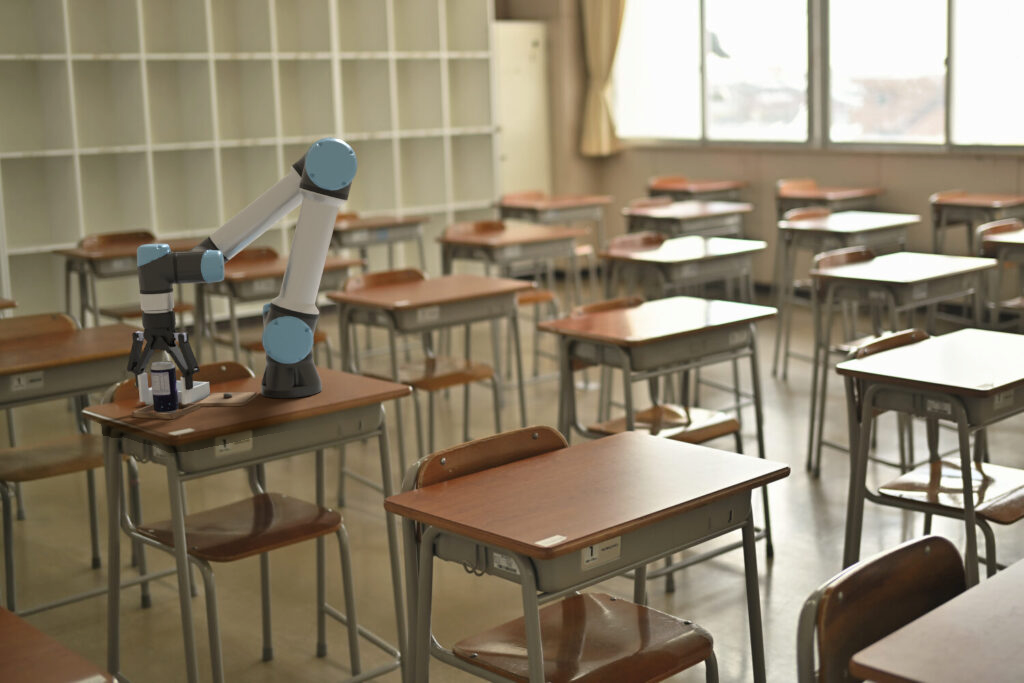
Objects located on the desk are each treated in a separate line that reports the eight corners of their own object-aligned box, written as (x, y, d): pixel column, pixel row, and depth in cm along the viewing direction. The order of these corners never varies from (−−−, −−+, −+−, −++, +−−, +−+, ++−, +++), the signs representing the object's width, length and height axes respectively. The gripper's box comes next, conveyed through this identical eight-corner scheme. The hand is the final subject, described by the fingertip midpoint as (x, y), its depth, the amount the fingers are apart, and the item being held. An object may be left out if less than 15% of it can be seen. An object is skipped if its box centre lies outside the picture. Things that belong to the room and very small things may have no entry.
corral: (200, 408, 284) (200, 403, 284) (173, 419, 274) (172, 414, 274) (160, 405, 288) (160, 401, 288) (132, 416, 277) (131, 411, 277)
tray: (210, 396, 297) (209, 382, 296) (184, 406, 287) (183, 391, 286) (172, 394, 301) (170, 380, 300) (145, 404, 290) (143, 389, 290)
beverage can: (182, 412, 280) (178, 363, 278) (159, 416, 277) (154, 366, 275) (174, 408, 285) (170, 359, 283) (150, 412, 282) (146, 362, 279)
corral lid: (256, 395, 296) (256, 388, 296) (243, 405, 285) (243, 398, 285) (212, 395, 297) (212, 388, 297) (198, 406, 286) (197, 399, 286)
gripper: (210, 309, 276) (217, 400, 280) (125, 307, 284) (133, 396, 288) (192, 314, 269) (199, 407, 273) (105, 311, 277) (114, 403, 281)
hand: (165, 401), depth 280 cm, fingers open, 11 cm apart
